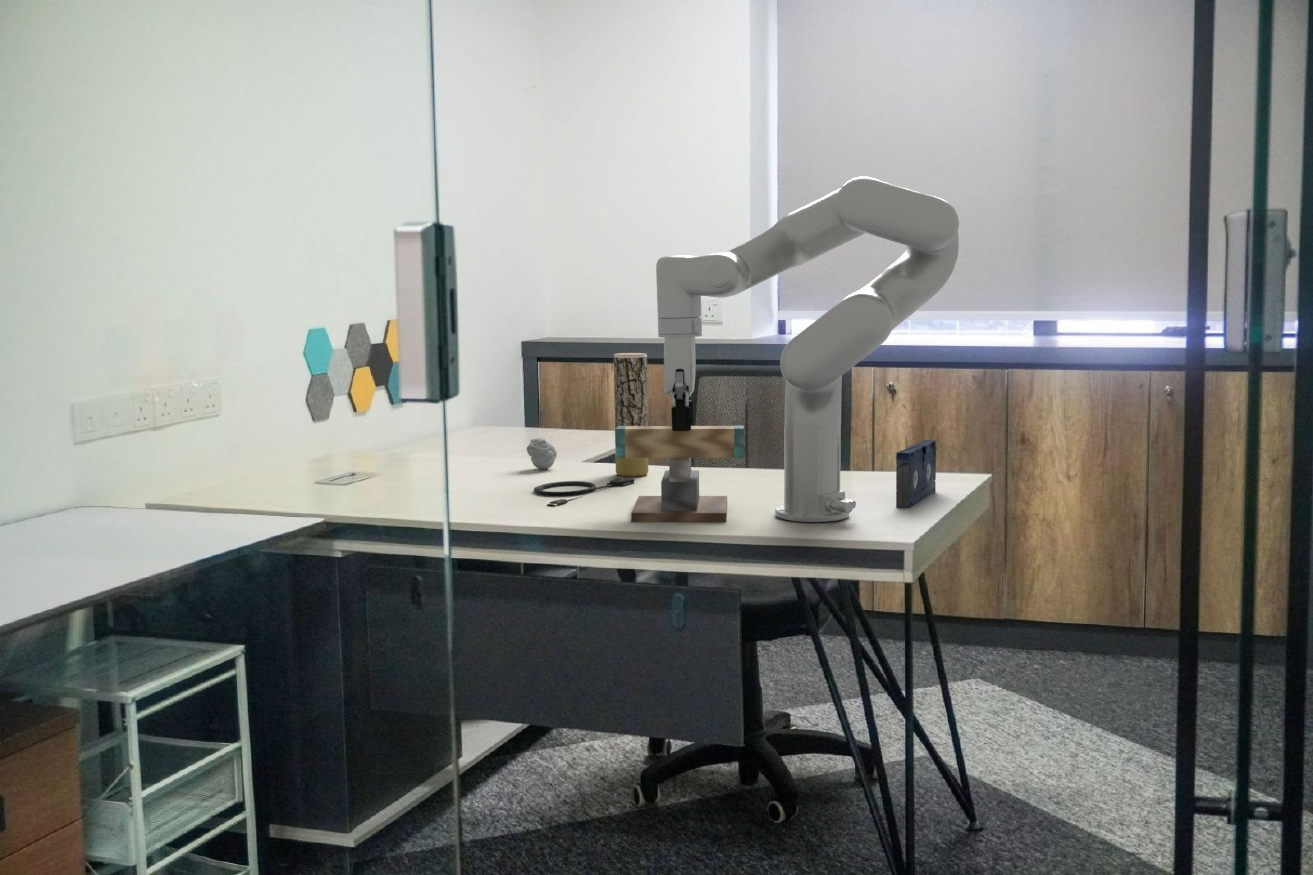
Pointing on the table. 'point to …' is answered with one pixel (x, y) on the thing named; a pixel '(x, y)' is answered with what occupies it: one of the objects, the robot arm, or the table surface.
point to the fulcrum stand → (680, 499)
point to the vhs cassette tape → (915, 473)
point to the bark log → (630, 404)
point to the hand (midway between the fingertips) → (682, 427)
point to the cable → (613, 483)
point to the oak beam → (679, 442)
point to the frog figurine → (542, 453)
